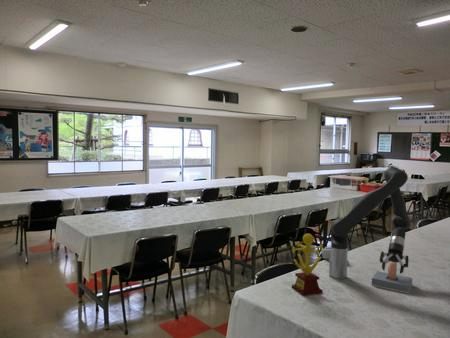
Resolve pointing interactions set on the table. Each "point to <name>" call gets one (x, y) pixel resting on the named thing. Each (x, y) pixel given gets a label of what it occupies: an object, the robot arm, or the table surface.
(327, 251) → the hinge
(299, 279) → the trophy
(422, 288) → the table surface
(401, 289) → the socket block
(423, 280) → the table surface
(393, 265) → the peg
